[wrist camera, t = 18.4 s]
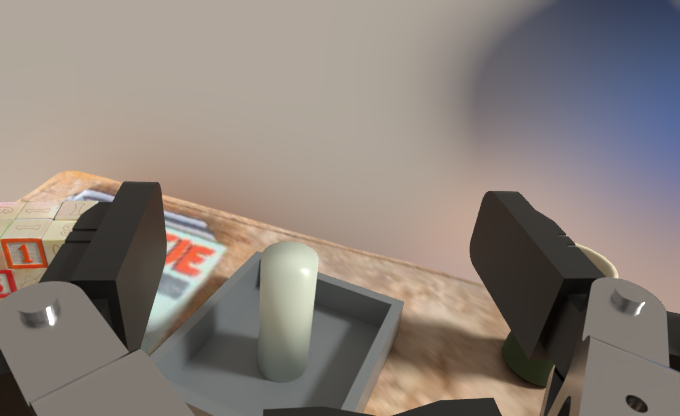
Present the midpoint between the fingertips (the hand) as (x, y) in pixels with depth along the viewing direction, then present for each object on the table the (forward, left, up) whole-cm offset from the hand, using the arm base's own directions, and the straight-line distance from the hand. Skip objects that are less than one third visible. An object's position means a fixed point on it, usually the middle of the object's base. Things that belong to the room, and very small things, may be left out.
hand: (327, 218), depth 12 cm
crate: (-10, +18, -30) cm, 37 cm away
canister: (-10, +18, -29) cm, 36 cm away
